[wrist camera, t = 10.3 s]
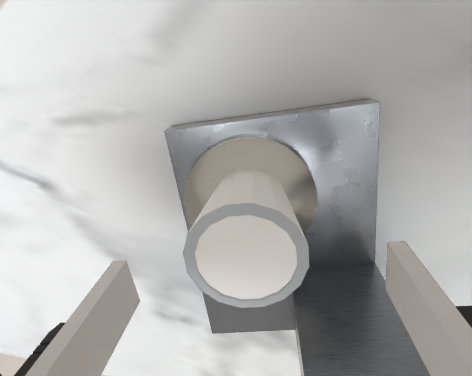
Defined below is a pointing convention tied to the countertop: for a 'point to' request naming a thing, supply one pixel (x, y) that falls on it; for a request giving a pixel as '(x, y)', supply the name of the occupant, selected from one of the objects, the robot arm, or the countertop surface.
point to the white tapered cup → (247, 243)
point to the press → (309, 230)
